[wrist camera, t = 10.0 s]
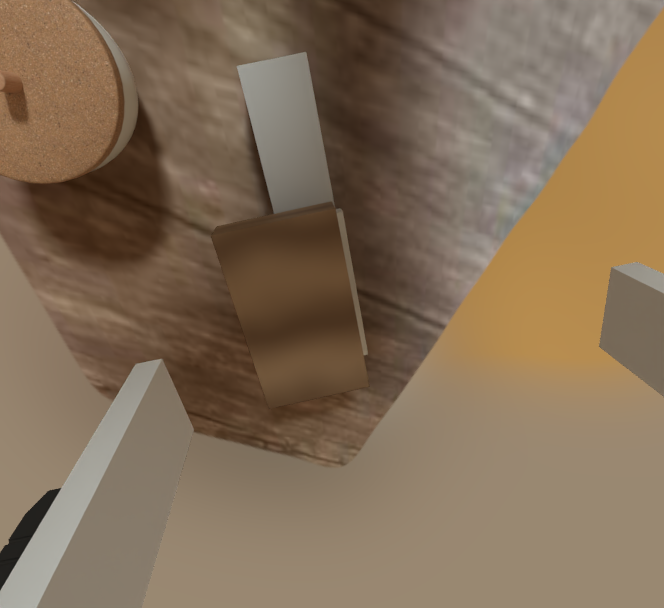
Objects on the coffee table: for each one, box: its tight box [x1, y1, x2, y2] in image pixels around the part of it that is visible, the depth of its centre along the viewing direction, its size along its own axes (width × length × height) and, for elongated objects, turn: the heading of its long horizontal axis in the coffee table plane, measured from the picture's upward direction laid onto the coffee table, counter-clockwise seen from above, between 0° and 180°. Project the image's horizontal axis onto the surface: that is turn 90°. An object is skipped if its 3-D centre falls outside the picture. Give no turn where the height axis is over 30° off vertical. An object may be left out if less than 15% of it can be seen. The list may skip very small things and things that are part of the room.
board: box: [211, 201, 370, 409], centre depth 29 cm, size 14×8×2 cm, turn 11°
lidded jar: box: [0, 0, 138, 184], centre depth 25 cm, size 11×11×9 cm
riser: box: [237, 52, 335, 214], centre depth 30 cm, size 12×4×5 cm, turn 11°
